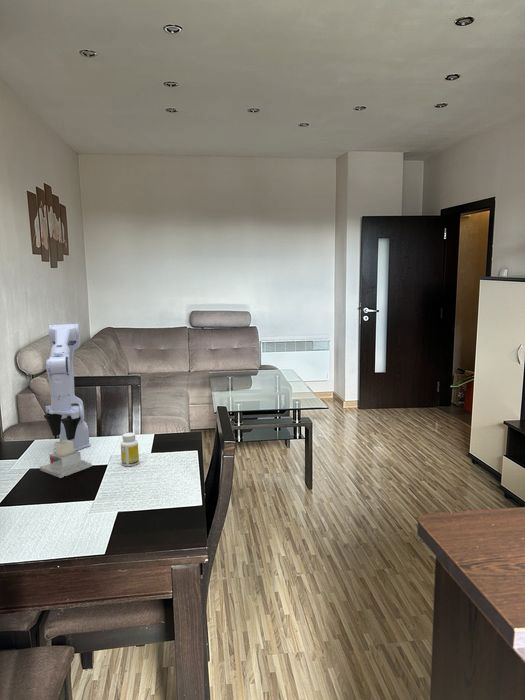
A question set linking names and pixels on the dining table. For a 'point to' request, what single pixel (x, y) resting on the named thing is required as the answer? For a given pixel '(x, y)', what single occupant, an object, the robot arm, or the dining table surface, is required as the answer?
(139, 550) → the dining table surface
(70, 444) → the rectangular block
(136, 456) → the supplement bottle
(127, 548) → the dining table surface
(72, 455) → the stand
